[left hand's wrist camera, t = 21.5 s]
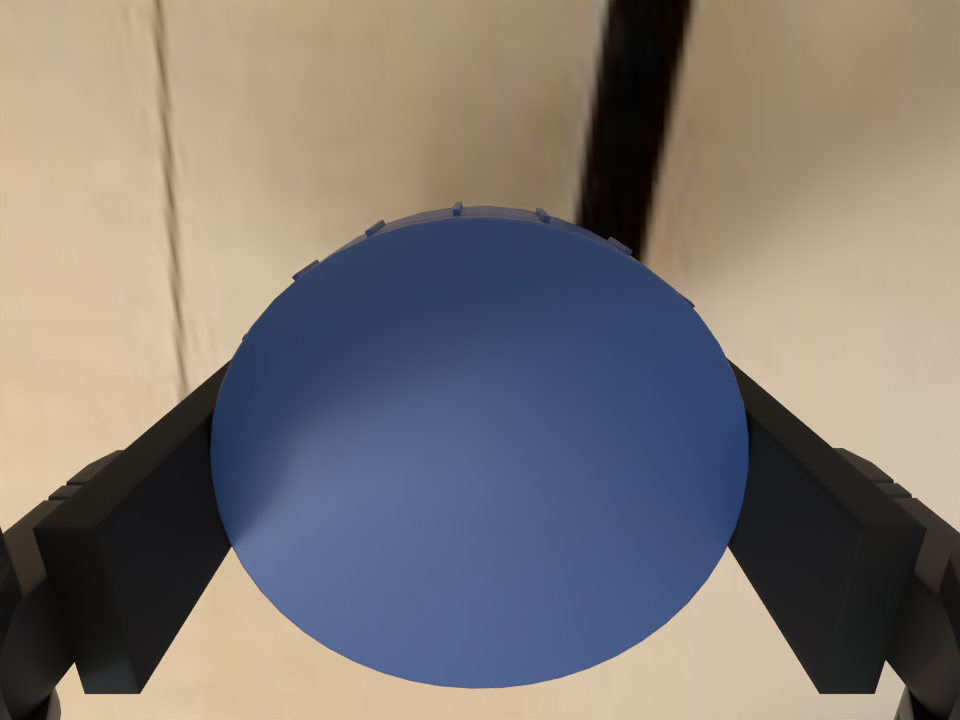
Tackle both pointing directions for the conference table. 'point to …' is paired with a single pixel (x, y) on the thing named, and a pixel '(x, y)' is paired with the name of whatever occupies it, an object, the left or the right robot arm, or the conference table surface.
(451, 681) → the lid
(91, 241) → the conference table surface
